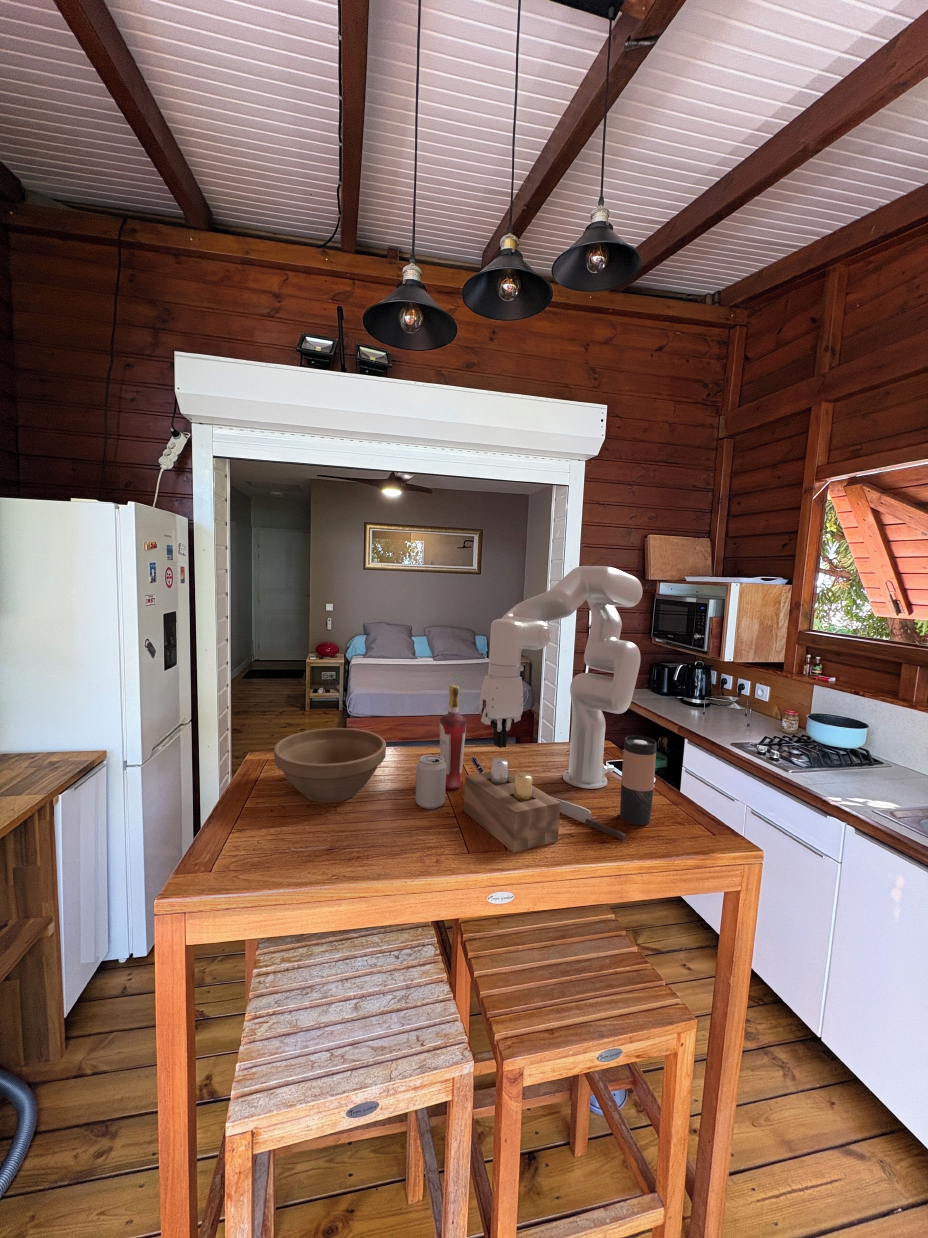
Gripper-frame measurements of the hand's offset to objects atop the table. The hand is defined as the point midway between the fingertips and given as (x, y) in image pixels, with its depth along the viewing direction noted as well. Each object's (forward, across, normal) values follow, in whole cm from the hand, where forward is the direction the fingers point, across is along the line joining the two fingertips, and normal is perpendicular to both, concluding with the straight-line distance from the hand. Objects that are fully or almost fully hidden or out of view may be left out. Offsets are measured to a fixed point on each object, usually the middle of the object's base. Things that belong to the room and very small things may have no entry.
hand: (499, 745), depth 130 cm
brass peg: (+12, 0, +10) cm, 16 cm away
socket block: (+18, 0, +5) cm, 18 cm away
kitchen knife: (+18, -17, +7) cm, 26 cm away
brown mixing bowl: (+18, +32, -30) cm, 48 cm away
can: (+18, +12, -13) cm, 25 cm away
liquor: (+18, +2, -21) cm, 28 cm away
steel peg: (+12, 0, 0) cm, 12 cm away
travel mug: (+18, -32, +15) cm, 39 cm away
